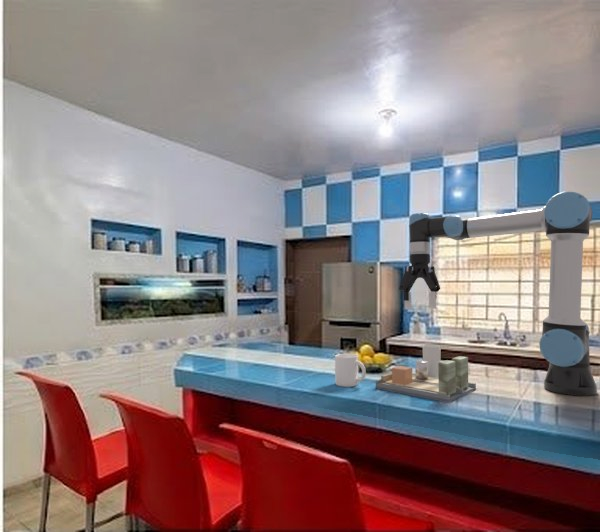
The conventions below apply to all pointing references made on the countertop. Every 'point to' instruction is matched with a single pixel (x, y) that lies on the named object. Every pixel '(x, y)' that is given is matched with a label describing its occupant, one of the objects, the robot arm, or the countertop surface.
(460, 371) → the strip
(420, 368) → the tin can
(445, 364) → the strip
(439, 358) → the grey bookend
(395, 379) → the terracotta cube
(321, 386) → the countertop surface
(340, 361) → the mug
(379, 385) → the lane board
